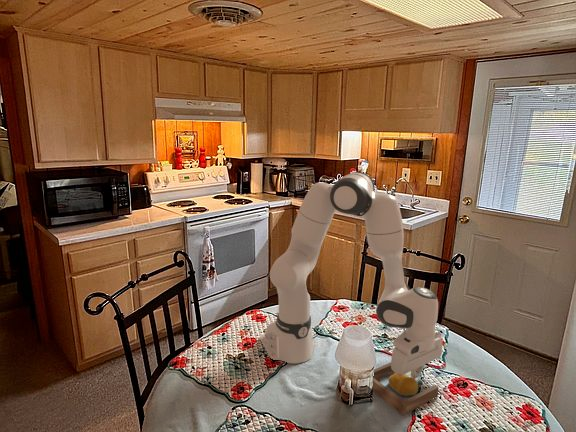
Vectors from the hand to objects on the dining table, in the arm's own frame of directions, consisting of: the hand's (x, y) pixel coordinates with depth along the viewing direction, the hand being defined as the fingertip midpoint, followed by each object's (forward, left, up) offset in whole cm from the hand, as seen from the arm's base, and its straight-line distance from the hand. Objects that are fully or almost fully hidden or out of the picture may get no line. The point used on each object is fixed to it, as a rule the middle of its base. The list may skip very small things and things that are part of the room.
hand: (415, 376), depth 126 cm
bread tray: (0, -7, -2) cm, 7 cm away
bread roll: (0, -5, -2) cm, 6 cm away
